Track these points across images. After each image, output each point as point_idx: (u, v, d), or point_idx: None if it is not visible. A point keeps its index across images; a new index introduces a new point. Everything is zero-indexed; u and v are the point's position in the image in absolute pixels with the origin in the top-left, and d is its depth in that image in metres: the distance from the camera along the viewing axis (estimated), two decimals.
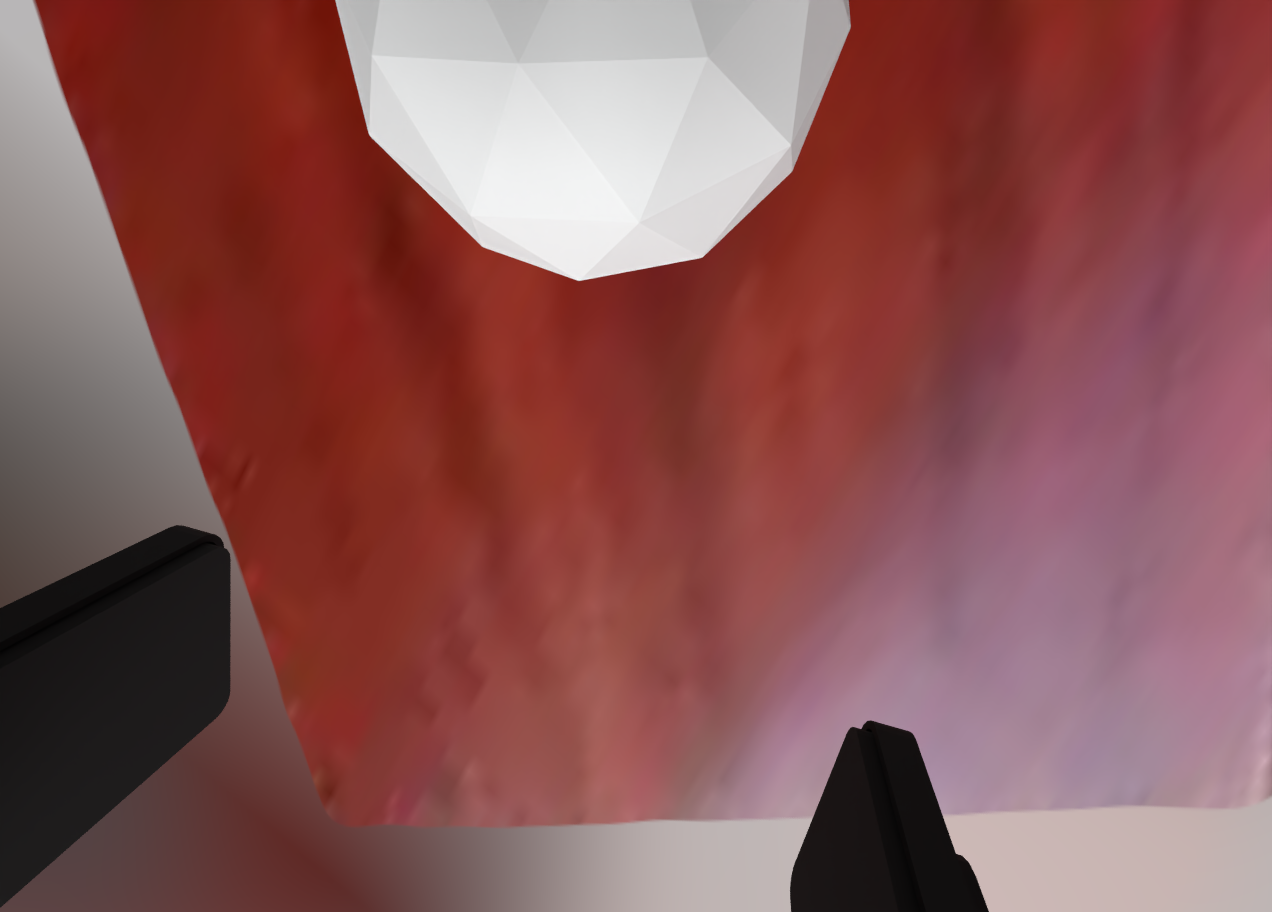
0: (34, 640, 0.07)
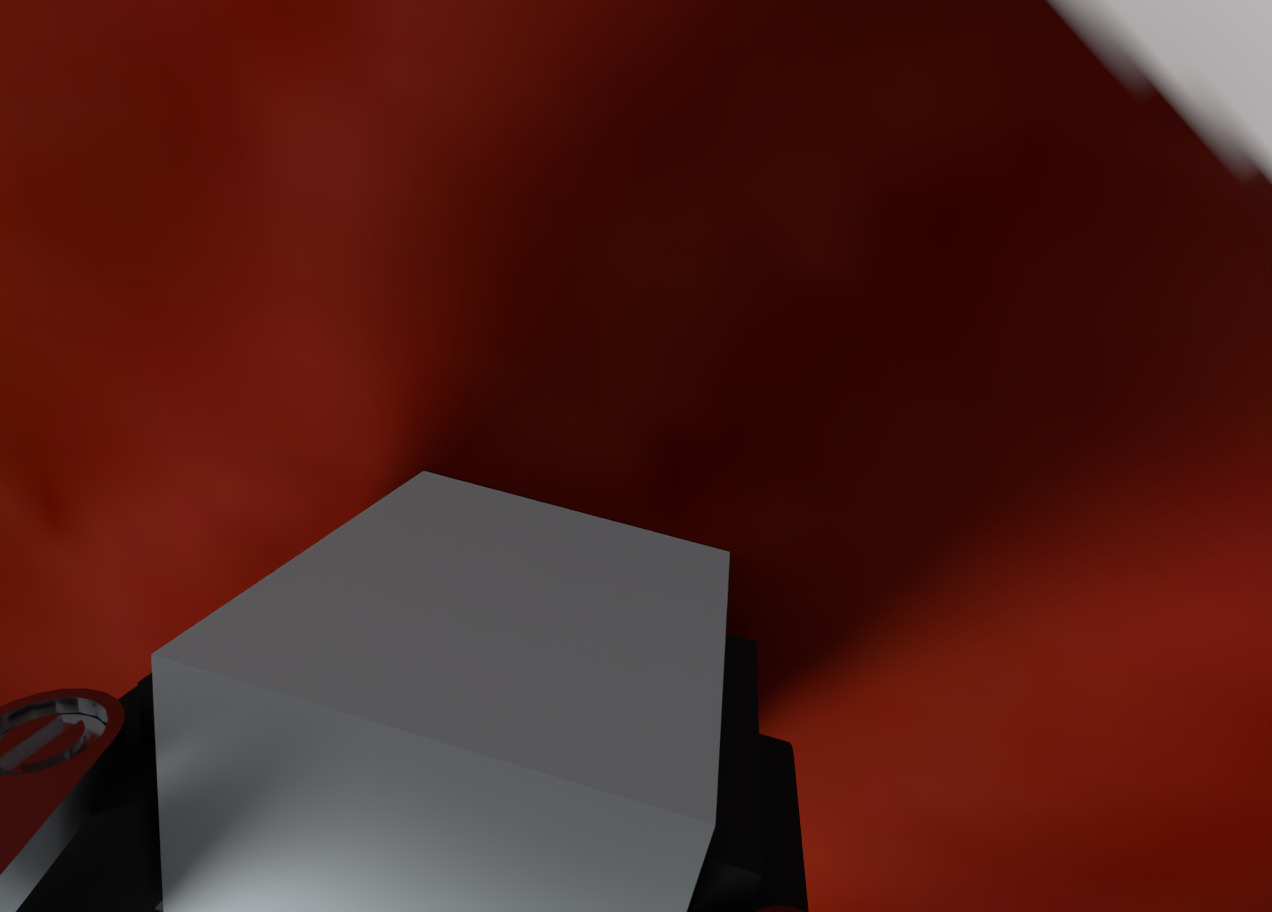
0: None
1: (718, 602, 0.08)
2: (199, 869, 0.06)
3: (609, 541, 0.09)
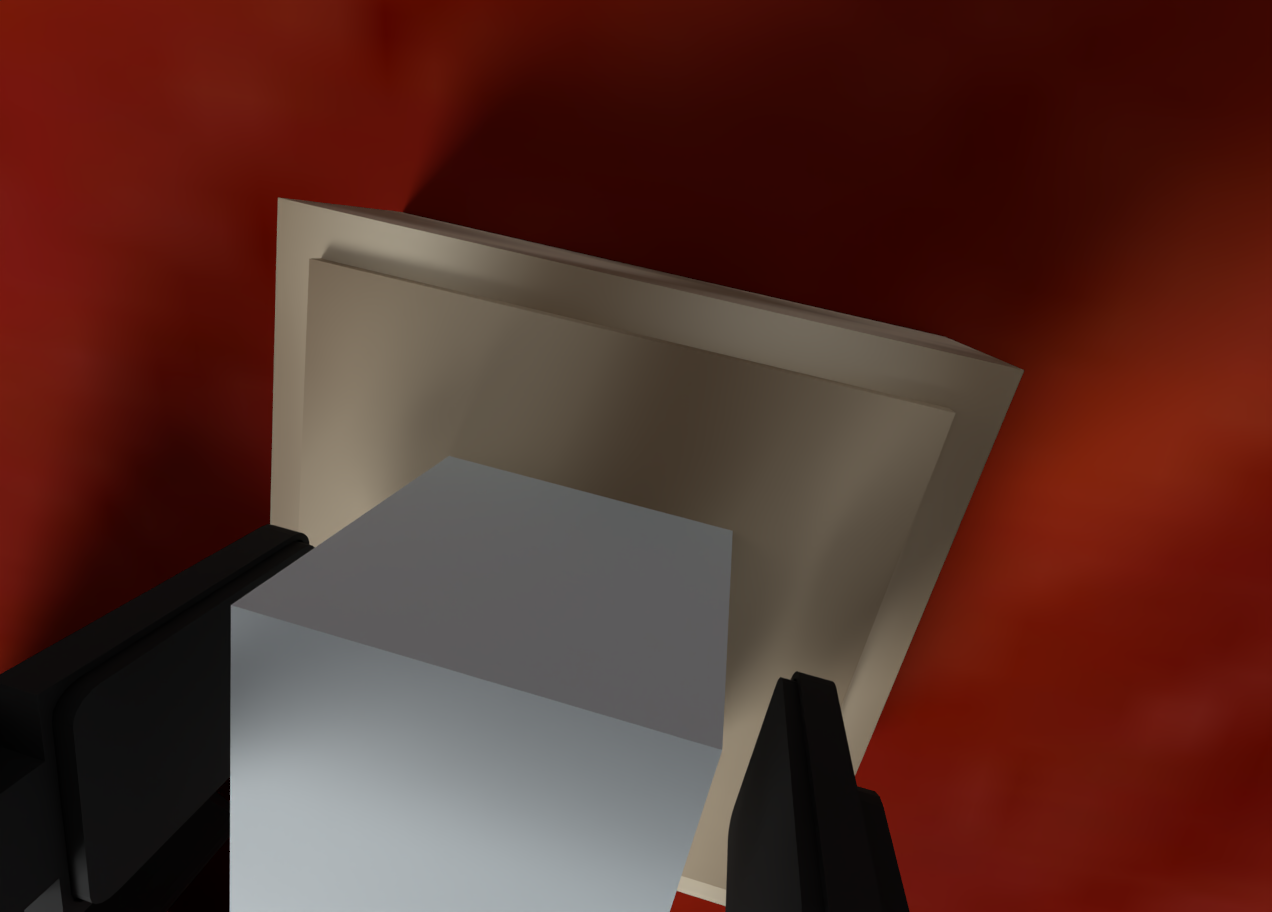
0: (164, 630, 0.07)
1: (722, 573, 0.09)
2: (264, 800, 0.07)
3: (622, 519, 0.10)
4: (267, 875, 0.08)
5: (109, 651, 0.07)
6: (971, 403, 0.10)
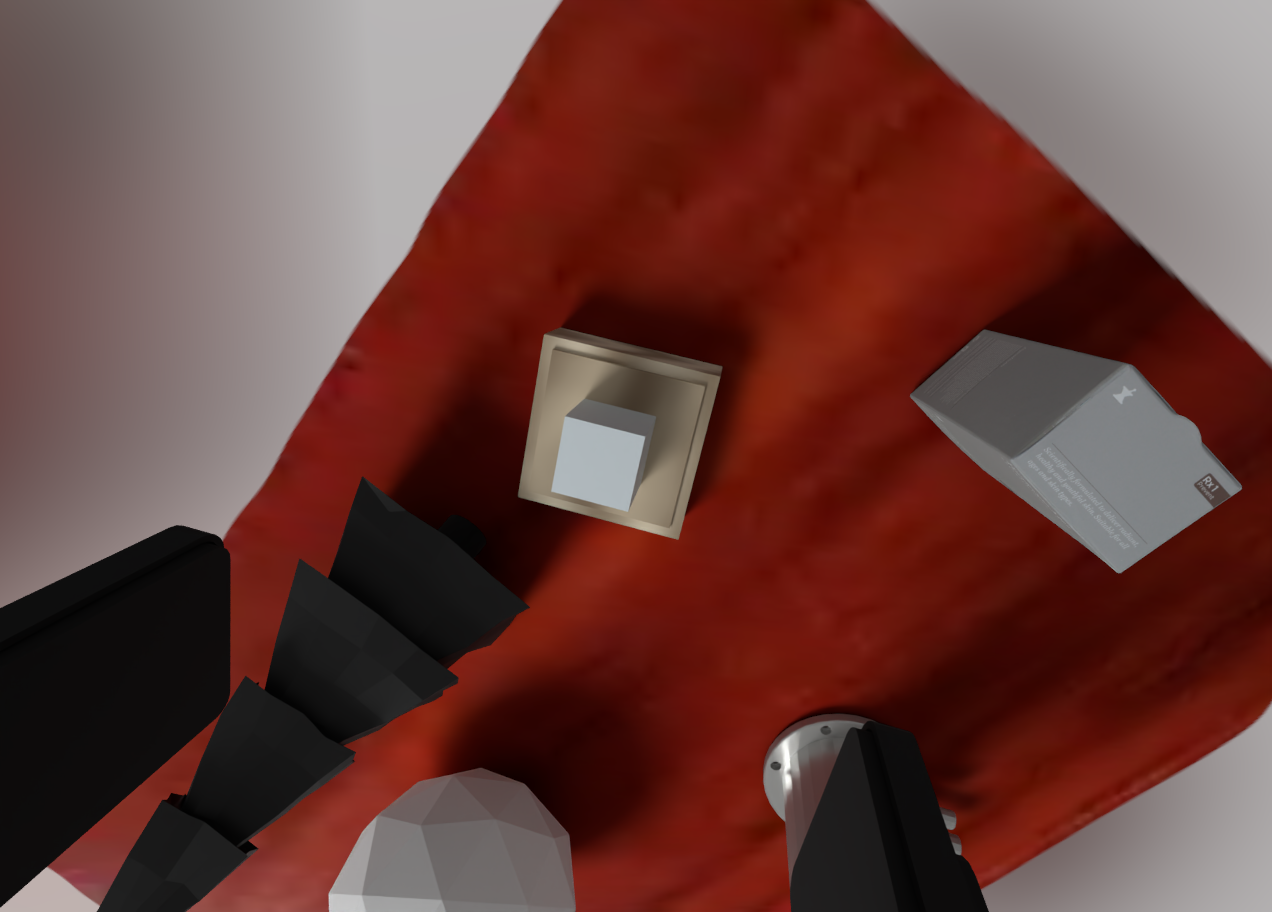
0: (34, 640, 0.07)
1: (651, 421, 0.41)
2: (564, 455, 0.39)
3: (629, 412, 0.42)
4: (562, 472, 0.40)
5: None
6: (710, 384, 0.42)
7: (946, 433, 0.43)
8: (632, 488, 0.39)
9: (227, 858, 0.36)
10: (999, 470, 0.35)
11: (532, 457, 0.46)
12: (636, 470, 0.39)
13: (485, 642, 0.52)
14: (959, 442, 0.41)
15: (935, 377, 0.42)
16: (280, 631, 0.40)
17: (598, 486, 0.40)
